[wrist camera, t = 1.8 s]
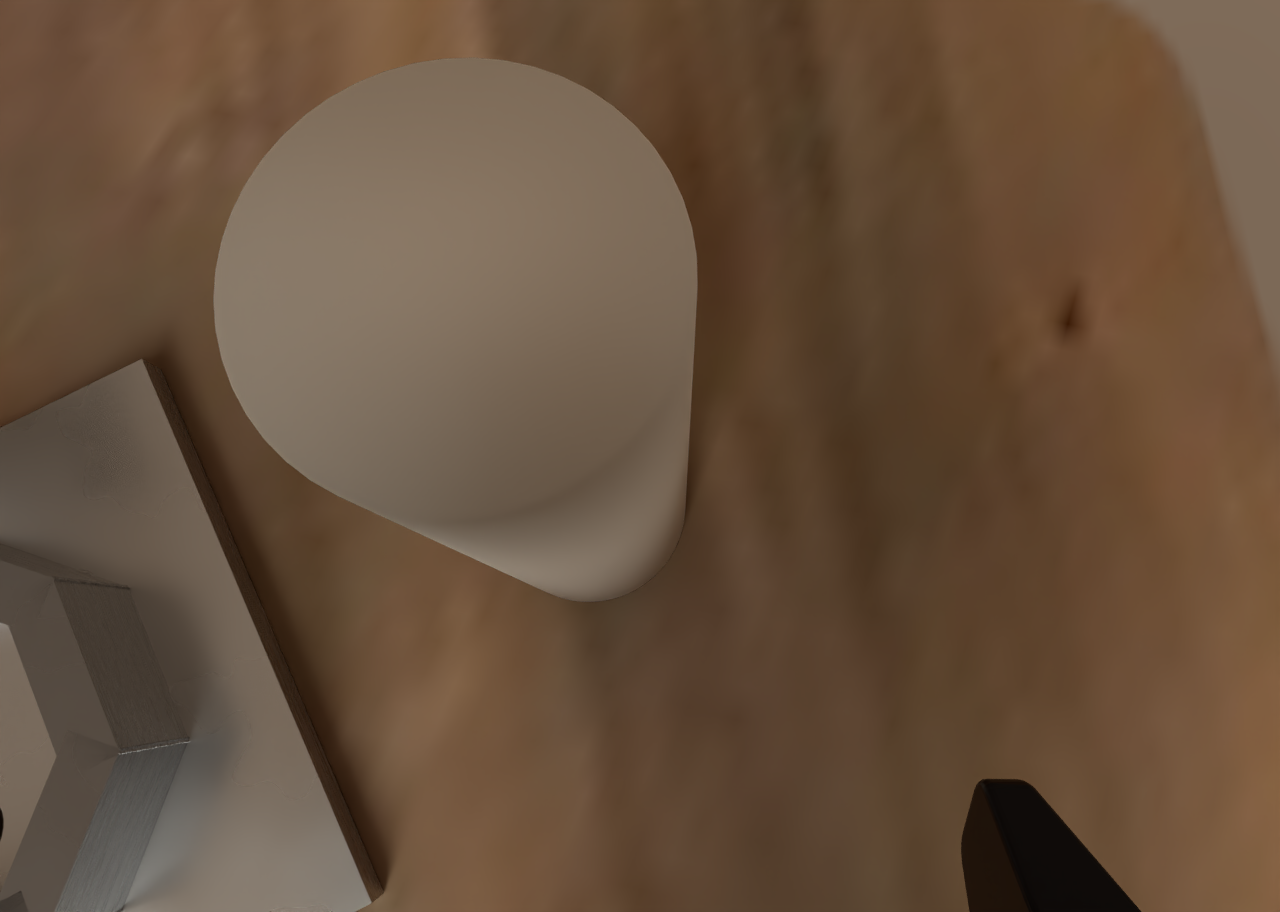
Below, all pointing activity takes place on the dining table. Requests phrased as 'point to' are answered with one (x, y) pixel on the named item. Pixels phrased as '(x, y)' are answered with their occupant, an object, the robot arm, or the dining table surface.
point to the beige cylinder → (474, 319)
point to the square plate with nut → (148, 684)
